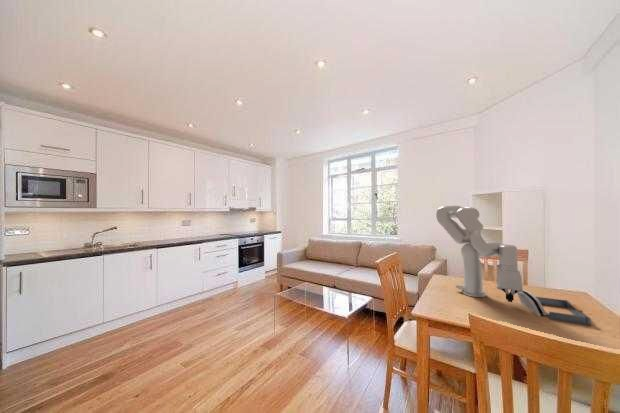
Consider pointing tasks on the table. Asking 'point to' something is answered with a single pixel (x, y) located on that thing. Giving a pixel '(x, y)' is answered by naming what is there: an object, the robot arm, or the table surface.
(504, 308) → the table surface
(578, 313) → the bay
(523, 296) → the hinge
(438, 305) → the table surface
